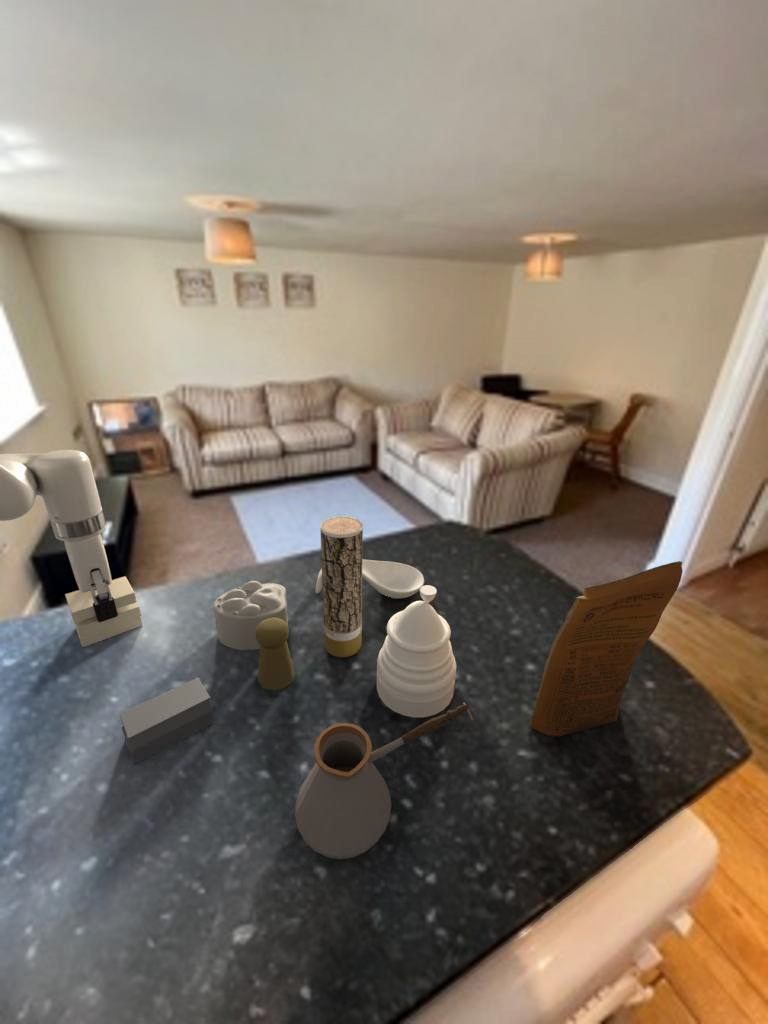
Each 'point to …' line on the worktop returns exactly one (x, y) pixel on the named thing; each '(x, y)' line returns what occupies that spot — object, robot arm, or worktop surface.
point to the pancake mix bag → (600, 650)
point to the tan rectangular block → (109, 625)
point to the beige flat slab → (83, 602)
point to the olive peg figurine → (274, 654)
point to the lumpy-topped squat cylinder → (248, 613)
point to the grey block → (166, 719)
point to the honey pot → (417, 660)
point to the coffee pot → (350, 789)
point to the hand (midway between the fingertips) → (103, 607)
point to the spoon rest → (388, 578)
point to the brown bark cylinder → (342, 584)
